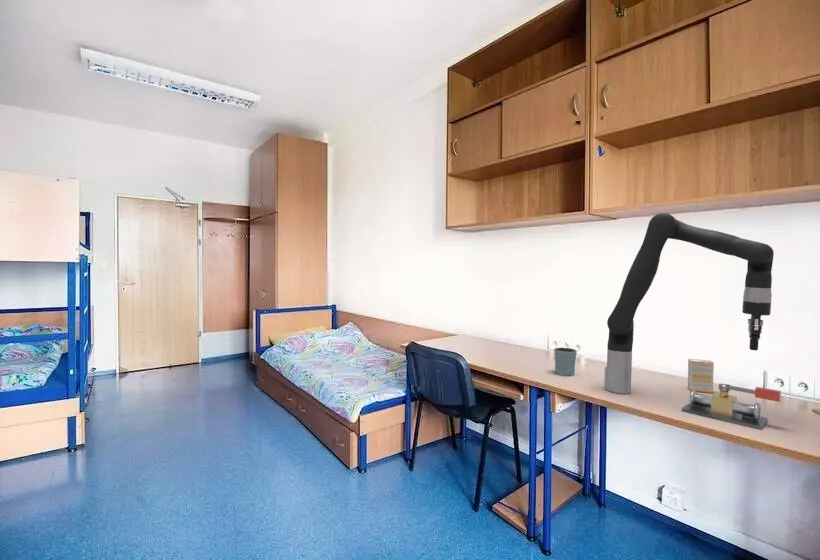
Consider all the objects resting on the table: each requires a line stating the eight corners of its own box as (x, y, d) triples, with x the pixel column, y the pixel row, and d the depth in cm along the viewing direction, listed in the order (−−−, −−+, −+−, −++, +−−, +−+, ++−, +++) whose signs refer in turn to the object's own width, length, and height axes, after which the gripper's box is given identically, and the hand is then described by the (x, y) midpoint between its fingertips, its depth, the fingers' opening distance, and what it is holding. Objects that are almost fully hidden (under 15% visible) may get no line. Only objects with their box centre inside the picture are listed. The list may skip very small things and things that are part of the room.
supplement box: (710, 390, 174) (711, 360, 173) (713, 393, 169) (714, 362, 169) (687, 388, 177) (688, 358, 177) (689, 391, 173) (690, 360, 172)
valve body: (681, 411, 147) (682, 386, 147) (691, 404, 155) (692, 380, 155) (761, 429, 131) (762, 401, 130) (767, 421, 139) (768, 394, 138)
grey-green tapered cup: (572, 372, 202) (573, 347, 202) (578, 377, 192) (579, 352, 192) (551, 371, 203) (552, 347, 203) (556, 376, 193) (557, 351, 193)
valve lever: (717, 390, 143) (717, 381, 143) (719, 388, 145) (720, 380, 145) (778, 402, 131) (779, 392, 130) (780, 400, 133) (781, 390, 133)
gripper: (742, 299, 150) (739, 345, 151) (744, 300, 140) (740, 351, 141) (769, 300, 146) (765, 348, 147) (773, 302, 135) (769, 354, 136)
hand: (753, 349), depth 144 cm, fingers closed
